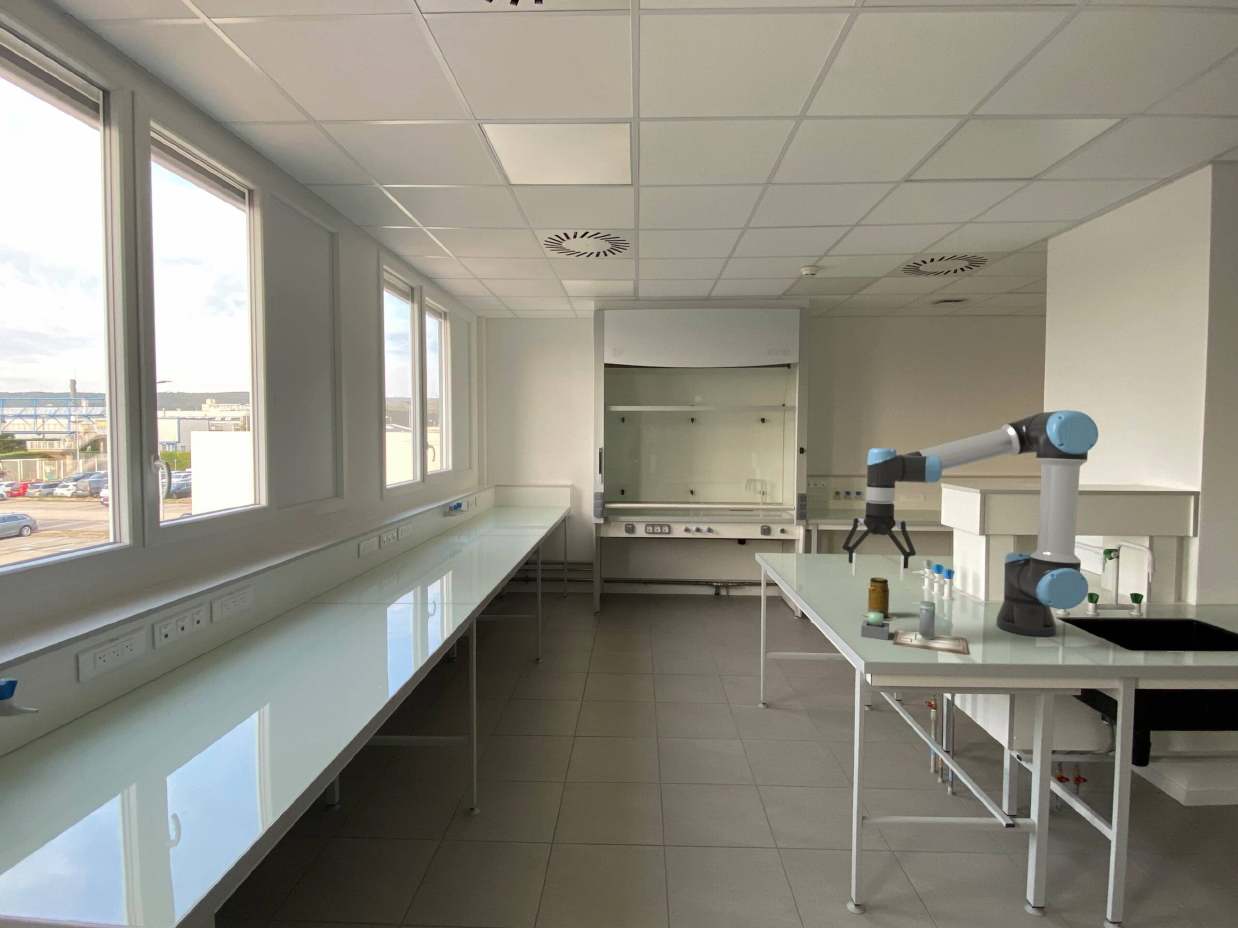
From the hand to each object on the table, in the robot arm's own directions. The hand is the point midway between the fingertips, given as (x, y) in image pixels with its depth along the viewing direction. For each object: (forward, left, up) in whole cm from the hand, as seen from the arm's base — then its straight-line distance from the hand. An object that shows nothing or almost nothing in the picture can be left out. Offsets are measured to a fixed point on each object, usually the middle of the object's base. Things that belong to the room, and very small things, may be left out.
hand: (877, 577), depth 182 cm
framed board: (-14, 0, -17) cm, 22 cm away
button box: (0, 0, -17) cm, 17 cm away
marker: (-13, -1, -16) cm, 21 cm away
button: (0, 0, -14) cm, 14 cm away
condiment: (0, -22, -17) cm, 28 cm away
